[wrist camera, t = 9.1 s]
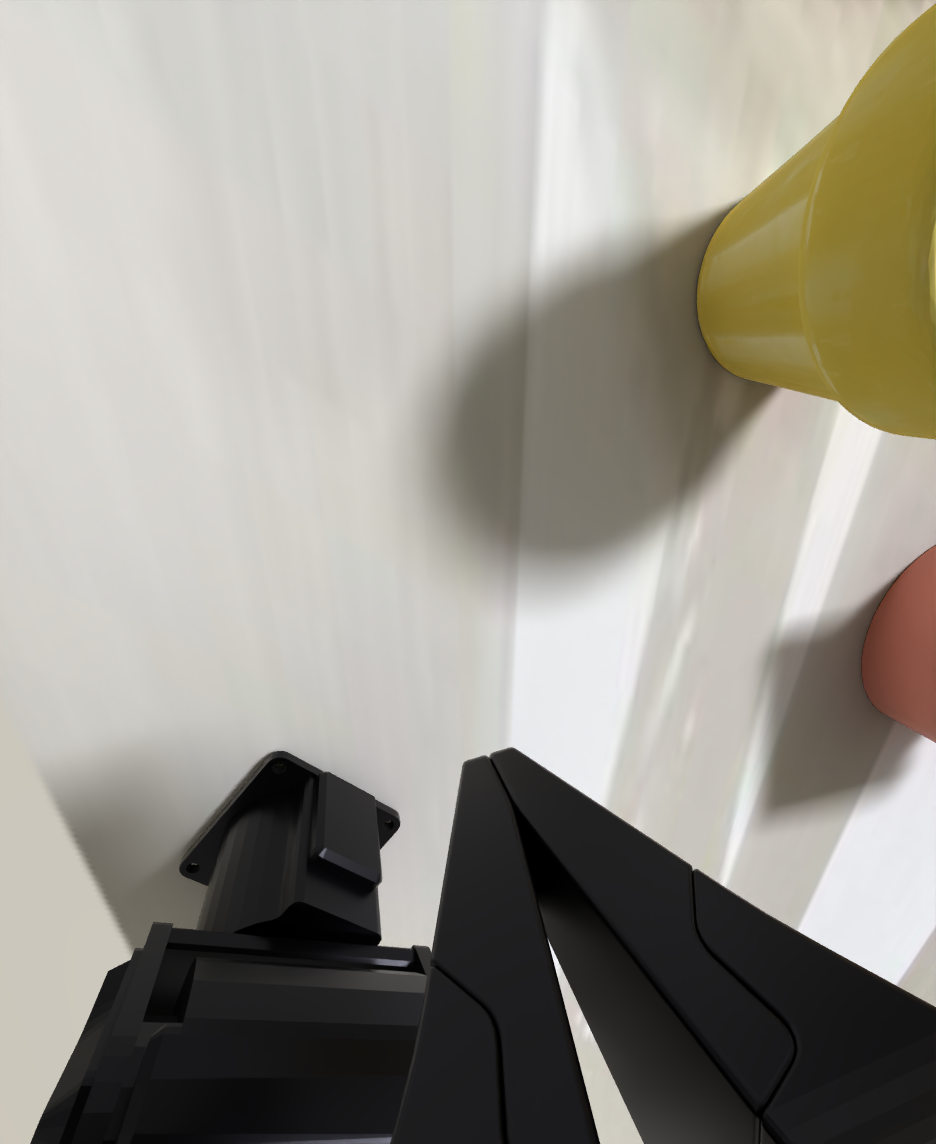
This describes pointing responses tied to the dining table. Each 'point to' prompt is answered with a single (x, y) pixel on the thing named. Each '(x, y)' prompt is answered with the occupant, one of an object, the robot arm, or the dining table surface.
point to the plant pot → (842, 255)
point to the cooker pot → (905, 649)
